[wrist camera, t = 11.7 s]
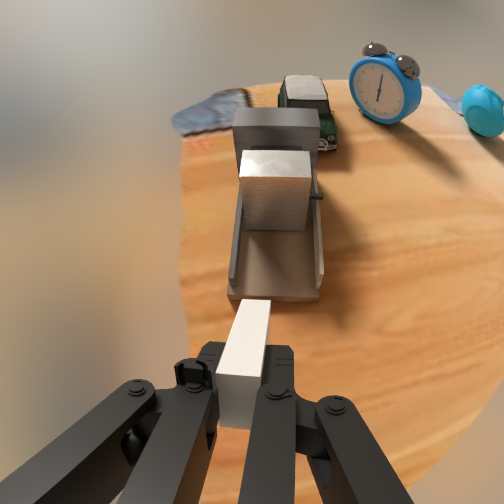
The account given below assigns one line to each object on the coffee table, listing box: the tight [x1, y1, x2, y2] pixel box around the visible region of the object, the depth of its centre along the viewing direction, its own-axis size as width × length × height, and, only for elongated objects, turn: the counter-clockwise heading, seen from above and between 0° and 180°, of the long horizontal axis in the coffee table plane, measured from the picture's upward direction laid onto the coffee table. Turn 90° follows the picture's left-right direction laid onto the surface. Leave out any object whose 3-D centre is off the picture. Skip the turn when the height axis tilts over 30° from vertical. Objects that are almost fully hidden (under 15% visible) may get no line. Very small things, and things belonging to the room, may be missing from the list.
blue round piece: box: [462, 85, 504, 137], centre depth 45 cm, size 12×11×12 cm
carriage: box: [239, 150, 323, 231], centre depth 34 cm, size 9×4×9 cm, turn 86°
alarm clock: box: [349, 42, 422, 128], centre depth 45 cm, size 13×6×15 cm, turn 40°
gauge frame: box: [227, 108, 324, 302], centre depth 34 cm, size 10×20×12 cm, turn 176°
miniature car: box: [278, 75, 338, 151], centre depth 47 cm, size 9×18×8 cm, turn 179°
